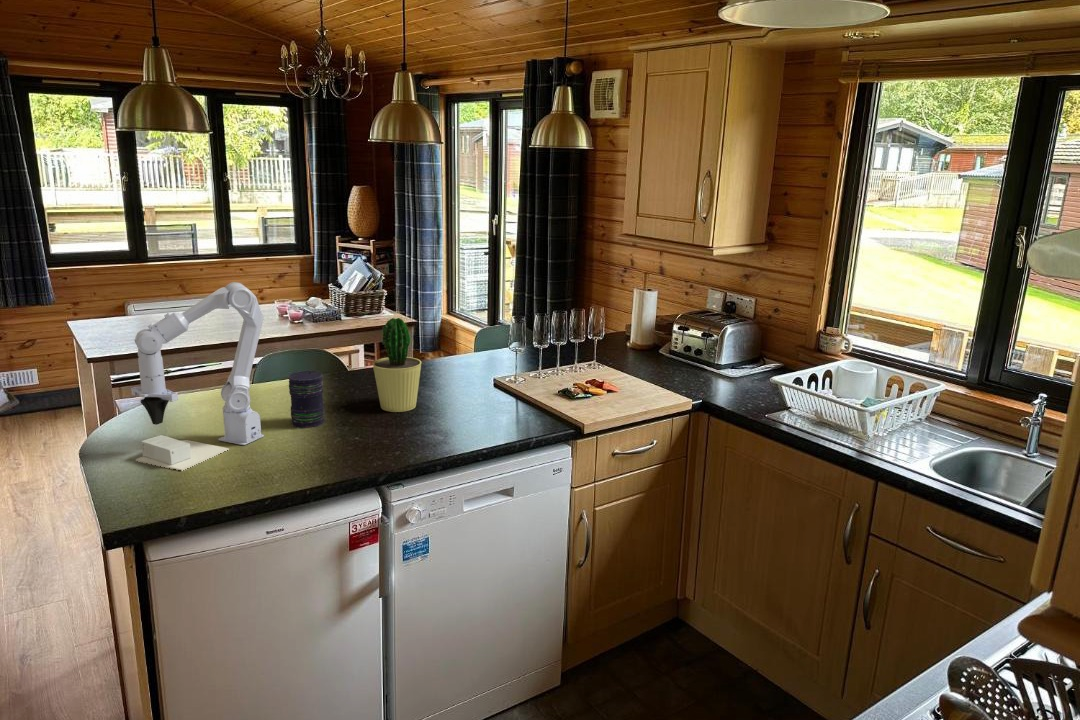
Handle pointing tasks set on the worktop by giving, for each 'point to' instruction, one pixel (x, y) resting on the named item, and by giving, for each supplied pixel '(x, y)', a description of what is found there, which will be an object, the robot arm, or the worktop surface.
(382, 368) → the potted cactus
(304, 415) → the storage jar
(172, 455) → the skincare box
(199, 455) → the mat
